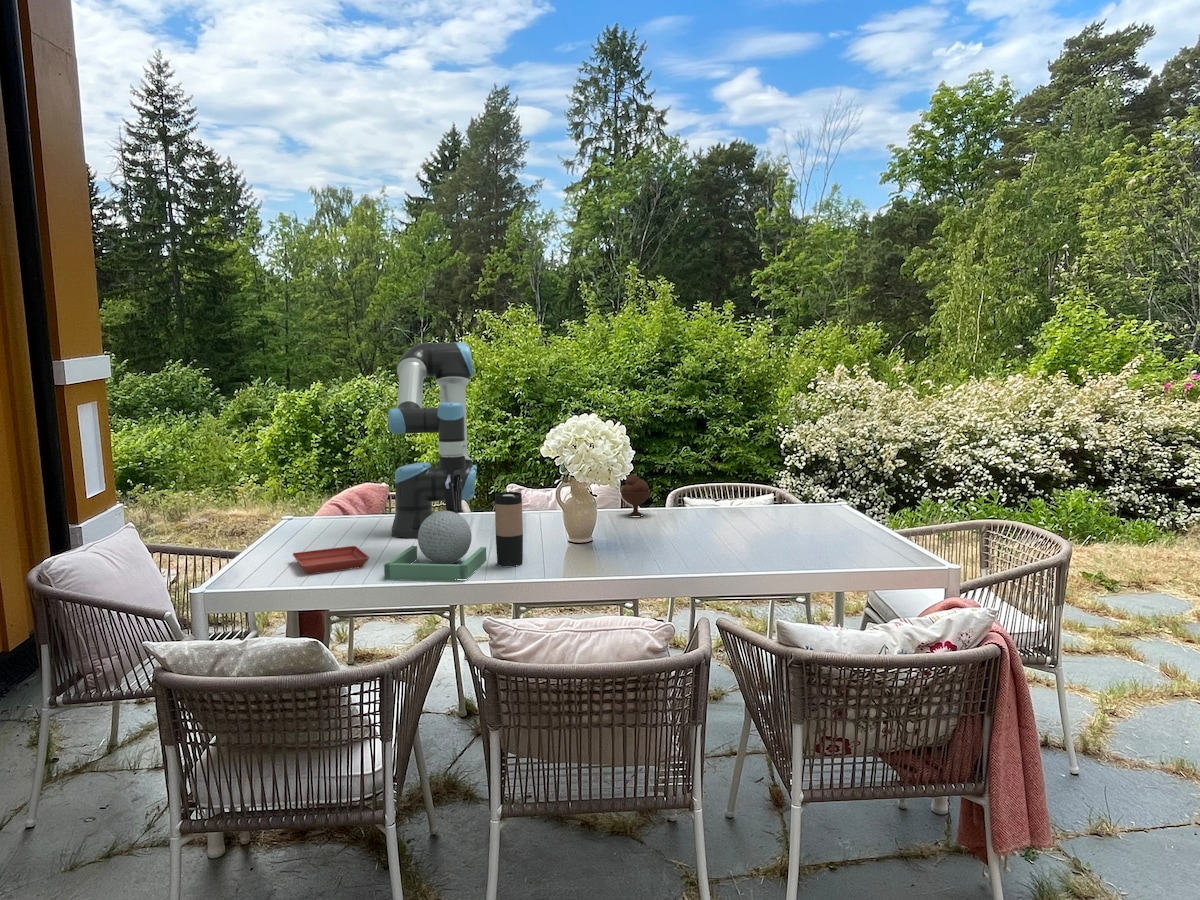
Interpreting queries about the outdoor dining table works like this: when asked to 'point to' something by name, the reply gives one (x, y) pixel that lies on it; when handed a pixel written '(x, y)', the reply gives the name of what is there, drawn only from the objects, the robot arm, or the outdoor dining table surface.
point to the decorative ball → (444, 537)
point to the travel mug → (509, 528)
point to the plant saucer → (331, 559)
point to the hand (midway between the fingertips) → (454, 534)
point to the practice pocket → (431, 567)
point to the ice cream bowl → (635, 493)
